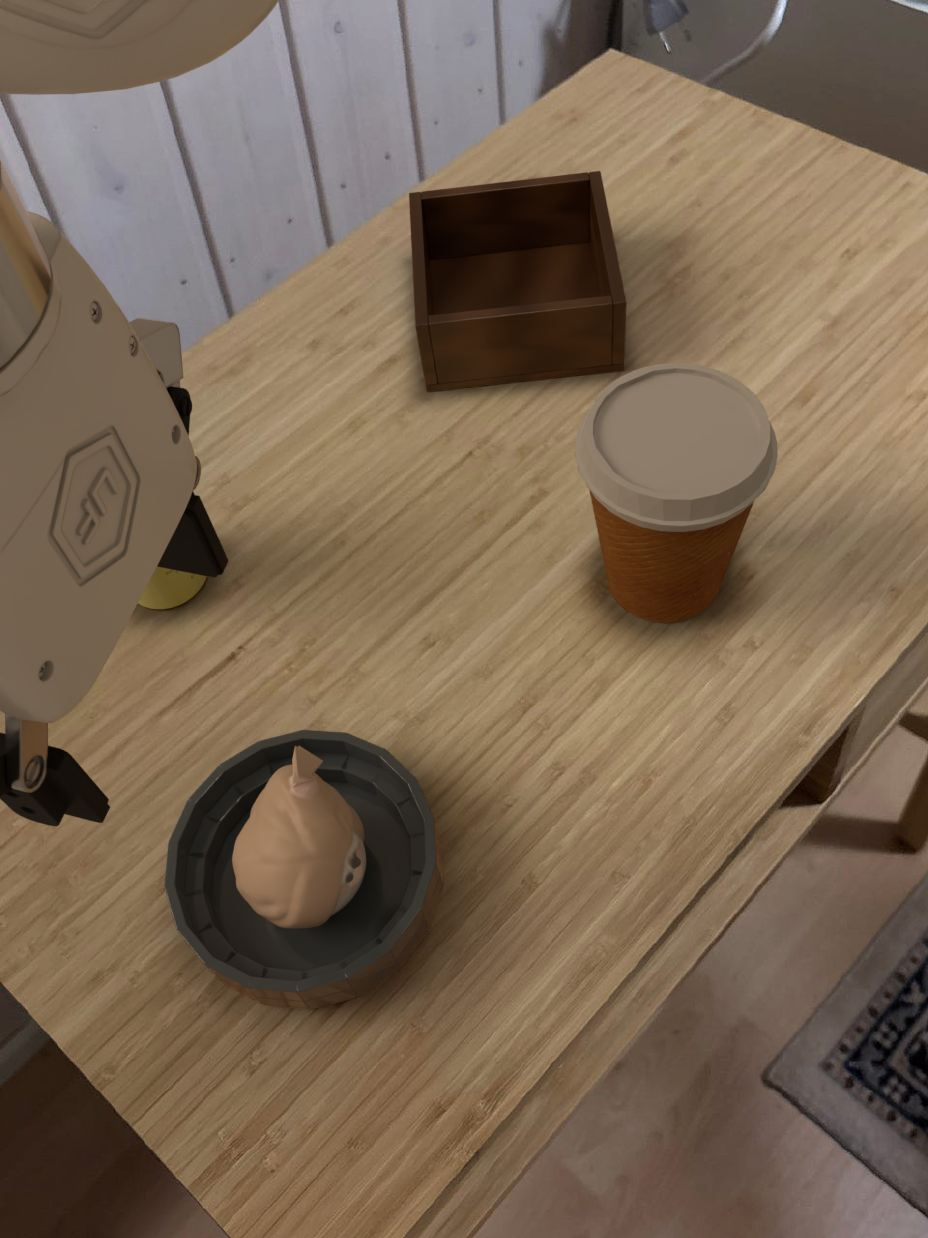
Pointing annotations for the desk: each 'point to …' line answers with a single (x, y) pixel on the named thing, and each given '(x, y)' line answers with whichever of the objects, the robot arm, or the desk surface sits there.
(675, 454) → the disposable coffee cup
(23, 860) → the desk surface
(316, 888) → the garlic bulb
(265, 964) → the bowl
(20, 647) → the robot arm
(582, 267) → the holder
